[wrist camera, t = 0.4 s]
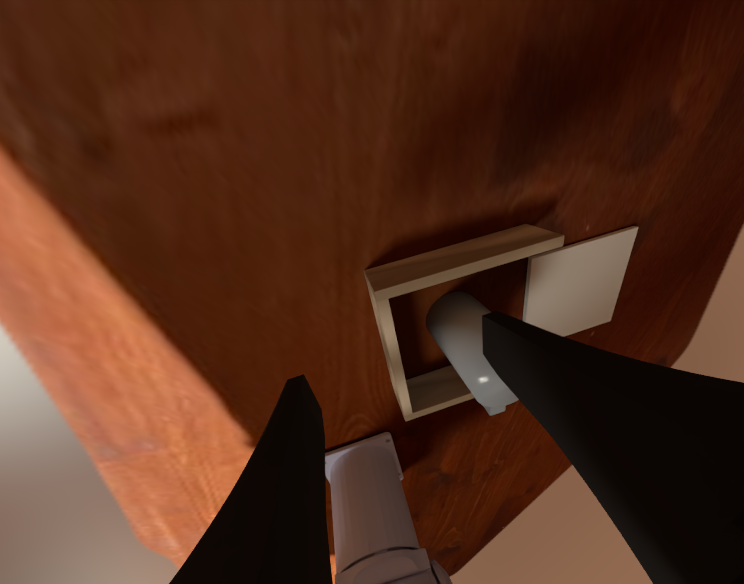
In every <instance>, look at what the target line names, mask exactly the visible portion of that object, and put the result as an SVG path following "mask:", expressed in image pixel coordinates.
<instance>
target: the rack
mask: <svg viewBox="0 0 744 584" xmlns="http://www.w3.org/2000/svg"><path fill="white" fill-rule="evenodd" d="M564 236H565V235H561V234H558V233H555V232H552V231H548V230H545V229H542V228H538V227H535V226H532V225H528V224H523V225H520V226H516V227H513V228H509V229H506V230H502V231H499V232H495V233H492V234H488V235H485V236H482V237H478V238H475V239H471V240H468V241H464V242H461V243H457V244H454V245H450V246H447V247H443V248H440V249H437V250H433V251H430V252H426V253H423V254H419V255H416V256H412V257H409V258H405V259H402V260H398V261H395V262H392V263H388V264H385V265H381V266H378V267H374V268H371V269H367V270H364V273H365V277H366V281H367V285H368V289H369V293H370V297H371V301H372V305H373V309H374V313H375V317H376V321H377V325H378V329H379V333H380V337H381V341H382V345H383V349H384V353H385V357H386V361H387V365H388V369H389V373H390V377H391V381H392V385H393V389H394V392H395V394H396V397H397V400H398V403H399V405H400V408H401V411H402V414H403V416H404V419H405V422H406V421H409V420H412V419H415V418H418V417H420V416H423V415H426V414H429V413H432V412H435V411H438V410H441V409H444V408H446V407H449V406H452V405H455V404H458V403H461V402H464V401H467V400H470V399H472V398H475V397H474V396H473V394H472V393H471V391H470V390H469V388H468V387H467V386H466V384H465V383H464V381H463V380H462V378H461V377H460V375H459V374H458V373H457V371H456V370H455V368H454V367H453V365H450V366H447V367H444V368H441V369H438V370H435V371H432V372H429V373H426V374H423V375H420V376H417V377H414V378H411V379H408V380H405V375H404V370H403V366H402V361H401V356H400V352H399V347H398V342H397V338H396V333H395V328H394V323H393V319H392V314H391V309H390V305H389V300H388V299H389V298H392V297H396V296H399V295H402V294H406V293H409V292H412V291H416V290H419V289H422V288H426V287H429V286H432V285H436V284H439V283H442V282H446V281H449V280H452V279H456V278H459V277H462V276H466V275H469V274H472V273H476V272H479V271H482V270H485V269H489V268H492V267H495V266H499V265H502V264H505V263H509V262H512V261H515V260H519V259H522V258H525V257H529V256H532V255H535V254H539V253H542V252H545V251H549V250H552V249H555V248H559V247H562V246H563V242H564Z"/></svg>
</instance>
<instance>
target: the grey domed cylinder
mask: <svg viewBox="0 0 744 584" xmlns="http://www.w3.org/2000/svg"><path fill="white" fill-rule="evenodd" d="M488 313H491V311H489V310H488V309H487V308H486V307H485V306H483V305H482V304H481V303H480V302H479V301H477V300H476V299H475V298H474V297H473V296H471V295H470V294H468V293H466V292H461V291H457V292H451V293H448V294H446V295H444V296H442V297H441V298H439V299H438V300H437V301H436V302H435V303H434V304H433V305H432V306H431V308H430V309H429V311H428V314H427V317H426V326H427V329H428V331H429V332H430V334H431V335H432V337H433V338H434V339H435V341H436V342H437V344H438V345H439V347H440V348H441V350H442V351H443V352H444V354H445V355H446V357H447V358H448V360H449V361H450V362H451V364H452V365H453V367H454V368H455V370H456V371H457V373H458V374H459V375H460V377H461V378H462V380H463V381H464V383H465V384H466V386H467V387H468V388H469V390H470V391H471V393H472V394H473V396H474V397H475V398H476V400H477V401H478V402H479V403H480V404H481V405H483V406H484V408H485V409H486V411H487V412H488V413H489V415H490V416H492V415H495V414H497V413H500V412H503V411H505V405H508V404H511V403H513V402H515V401H517V400H519V399H518V398H517V397H516V396H515V395H514V393H513V392H512V391H511V390H510V389H509V388H508V387H507V386H506V384H505V383H504V382H503V381H502V380H501V379H500V378H499V376H498V375H497V374H496V372H495V371H494V370H493V368H492V367H491V365H490V364H489V362H488V361H487V359H486V358H485V356H484V355H483V342H482V315H485V314H488Z"/></svg>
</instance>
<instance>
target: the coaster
mask: <svg viewBox="0 0 744 584" xmlns="http://www.w3.org/2000/svg"><path fill="white" fill-rule="evenodd" d="M637 230H638V227H636V226H631V227H628V228H625V229H622V230H618V231H615V232H612V233H608V234H605V235H602V236H598V237H595V238H592V239H588V240H585V241H582V242H578V243H575V244H572V245H568V246H565V247H562V248H559V249H555V250H552V251H549V252H545V253H542V254H539V255H535V256H532V257H529V258H528V267H527V278H526V289H525V300H524V311H523V321H524V322H526V323H529V324H531V325H534V326H537V327H539V328H542V329H544V330H547V331H549V332H552V333H555V334H557V335H560V336H563V337H564V336H567V335H570V334H573V333H576V332H579V331H582V330H585V329H588V328H591V327H594V326H597V325H600V324H603V323H606V322H609V321H611V318H612V315H613V311H614V308H615V304H616V301H617V298H618V294H619V291H620V288H621V284H622V281H623V278H624V274H625V271H626V267H627V264H628V261H629V257H630V254H631V251H632V247H633V244H634V241H635V237H636V234H637Z"/></svg>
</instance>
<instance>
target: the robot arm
mask: <svg viewBox="0 0 744 584" xmlns="http://www.w3.org/2000/svg"><path fill="white" fill-rule="evenodd" d="M482 342H483V355H484V356H485V358H486V359H487V361H488V362H489V364H490V365H491V367H492V368H493V370H494V371H495V372H496V374H497V375H498V376H499V378H500V379H501V380H502V381H503V382H504V383H505V384H506V386H507V387H508V388H509V389H510V390H511V391H512V392H513V393H514V395H515V396H516V397H517V398H518V399H519V400H520V401H521V402H522V403H523V405H524V406H525V407H526V408H527V409H528V410H529V411H530V412H531V413H532V415H533V416H534V417H535V418H536V419H537V420H538V421H539V422H540V423H541V425H542V426H543V427H544V428H545V429H546V431H547V432H548V433H549V434H550V435H551V437H552V438H553V439H554V440H555V442H556V443H557V444H558V446H559V447H560V448H561V450H562V451H563V452H564V454H565V455H566V456H567V458H568V459H569V460H570V462H571V463H572V464H573V466H574V467H575V468H576V470H577V471H578V473H579V474H580V475H581V477H582V478H583V480H584V481H585V482H586V484H587V485H588V487H589V488H590V489H591V491H592V492H593V494H594V495H595V496H596V497H597V499H598V501H599V502H600V504H601V505H602V507H603V508H604V510H605V511H606V512H607V514H608V515H609V517H610V518H611V520H612V521H613V523H614V524H615V526H616V527H617V529H618V530H619V531H620V532H621V534H622V536H623V537H624V539H625V541H626V542H627V544H628V545H629V547H630V548H631V550H632V551H633V553H634V554H635V556H636V558H637V559H638V561H639V562H640V564H641V565H642V567H643V568H644V570H645V571H646V573H647V574H648V576H649V578H650V579H651V581H652V582H653V584H744V383H742V382H737V381H730V380H725V379H720V378H715V377H710V376H704V375H699V374H695V373H690V372H686V371H682V370H677V369H673V368H668V367H664V366H660V365H656V364H652V363H648V362H644V361H640V360H636V359H633V358H629V357H625V356H622V355H618V354H615V353H611V352H608V351H604V350H601V349H598V348H595V347H592V346H589V345H586V344H583V343H580V342H577V341H574V340H571V339H568V338H566V337H563V336H560V335H557V334H555V333H552V332H549V331H547V330H544V329H542V328H539V327H537V326H534V325H531V324H529V323H526V322H524V321H521V320H519V319H516V318H514V317H511V316H509V315H506V314H503V313H501V312H498V311H494V312H491V313H488V314H485V315H482ZM325 475H326V477H327V479H328V481H329V482H330V484H331V499H332V514H333V529H334V544H335V559H336V575H335V584H452V582H451V580H450V578H449V576H448V574H447V572H446V571H445V570H444V569H443V568H442V567H441V566H440V565H439V564H438V563H437V562H436V561H435V560H432V561H429V559H428V556H427V553H426V549H425V548H422V549H420V547H419V544H418V540H417V537H416V533H415V530H414V526H413V523H412V519H411V516H410V512H409V509H408V505H407V502H406V498H405V495H404V491H403V488H402V484H401V481H400V480H402V479H403V474H402V470H401V467H400V464H399V460H398V457H397V454H396V450H395V447H394V443H393V440H392V437H391V434H390V433H389V432H385V433H382V434H379V435H376V436H373V437H370V438H367V439H364V440H362V441H359V442H356V443H353V444H350V445H347V446H344V447H341V448H339V449H336V450H333V451H330V452H327V453H325V434H324V426H323V418H322V411H321V408H320V406H319V404H318V402H317V400H316V398H315V396H314V394H313V392H312V390H311V388H310V386H309V384H308V382H307V380H306V378H305V376H304V374H303V375H300V376H297V377H294V378H291V379H288V380H287V382H286V384H285V386H284V388H283V391H282V393H281V395H280V398H279V400H278V402H277V404H276V407H275V409H274V411H273V413H272V415H271V417H270V420H269V422H268V424H267V426H266V428H265V430H264V432H263V434H262V436H261V438H260V440H259V442H258V444H257V446H256V448H255V450H254V452H253V454H252V455H251V457H250V459H249V461H248V463H247V465H246V467H245V469H244V470H243V472H242V474H241V476H240V477H239V479H238V481H237V483H236V484H235V486H234V488H233V489H232V491H231V493H230V494H229V496H228V498H227V499H226V501H225V503H224V504H223V506H222V507H221V509H220V511H219V512H218V514H217V515H216V517H215V518H214V520H213V521H212V523H211V524H210V526H209V527H208V529H207V530H206V532H205V533H204V535H203V536H202V538H201V539H200V541H199V542H198V544H197V545H196V547H195V548H194V550H193V551H192V553H191V554H190V555H189V557H188V558H187V560H186V561H185V563H184V564H183V566H182V567H181V568H180V570H179V571H178V572H177V574H176V575H175V576H174V578H173V579H172V581H171V582H170V583H169V584H333V583H332V573H331V564H330V554H329V544H328V533H327V522H326V487H325Z"/></svg>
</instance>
